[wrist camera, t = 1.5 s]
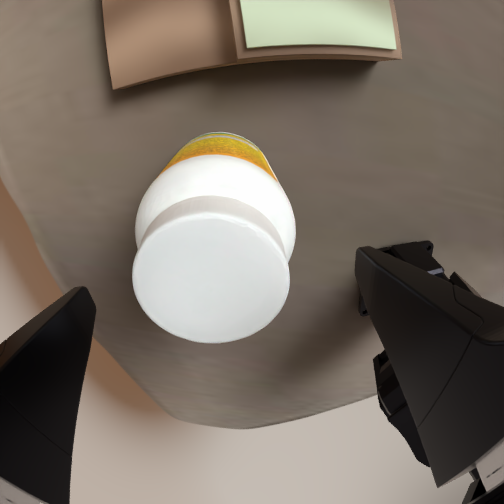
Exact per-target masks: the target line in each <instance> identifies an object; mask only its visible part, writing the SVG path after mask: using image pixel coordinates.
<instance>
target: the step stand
mask: <svg viewBox="0 0 504 504" xmlns="http://www.w3.org/2000/svg"><path fill="white" fill-rule="evenodd" d="M102 7H103V19H104V29H105V38H106V46H107V54H108V61H109V68H110V74H111V81H112V87H113V90H120V89H125V88H128V87H132V86H135V85H139V84H142V83H146V82H150V81H153V80H157V79H162V78H166V77H170V76H174V75H179V74H184V73H189V72H194V71H199V70H205V69H210V68H217V67H223V66H230V65H238V64H246V63H255V62H266V61H280V60H300V59H347V60H367V61H386V60H397V59H402V53H401V45H400V37H399V30H398V23H397V17H396V11H395V6H394V1H393V0H102Z"/></svg>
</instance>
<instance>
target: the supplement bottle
mask: <svg viewBox="0 0 504 504" xmlns="http://www.w3.org/2000/svg"><path fill="white" fill-rule="evenodd" d="M295 236H296V228H295V219H294V215H293V211H292V207H291V205H290V202H289V200H288V198H287V196H286V194H285V192H284V190H283V189H282V187H281V185H280V183H279V182H278V180H277V178H276V176H275V174H274V172H273V170H272V169H271V167H270V165H269V163H268V161H267V159H266V158H265V156H264V154H263V153H262V152H261V151H260V149H259V148H258V147H257V146H255V145H254V144H253V143H252V142H250V141H249V140H247V139H245V138H243V137H241V136H238V135H235V134H231V133H226V132H212V133H207V134H204V135H201V136H198V137H196V138H195V139H193V140H191V141H190V142H188V143H187V144H186V145H185V146H184V147H182V148H181V149H180V151H179V152H178V153H177V154H176V155H175V156H174V157H173V158H172V160H171V161H170V162H169V163H168V164H167V166H166V167H165V168H164V169H163V170H162V172H161V173H160V174H159V175H158V177H157V178H156V179H155V180H154V182H153V183H152V184H151V185H150V187H149V188H148V190H147V191H146V193H145V195H144V196H143V198H142V201H141V203H140V205H139V209H138V212H137V216H136V224H135V237H136V243H137V248H138V251H137V253H136V256H135V259H134V263H133V269H132V281H133V289H134V292H135V295H136V298H137V300H138V302H139V304H140V306H141V307H142V309H143V310H144V312H145V313H146V314H147V315H148V316H149V317H150V318H151V319H152V321H153V322H155V323H156V324H157V325H158V326H160V327H161V328H163V329H164V330H166V331H167V332H169V333H171V334H173V335H176V336H178V337H181V338H184V339H187V340H190V341H195V342H201V343H223V342H230V341H234V340H239V339H242V338H245V337H247V336H250V335H252V334H254V333H256V332H257V331H259V330H261V329H262V328H264V327H265V326H267V325H268V324H269V323H270V322H271V321H272V320H273V319H274V318H275V317H276V315H277V314H278V313H279V312H280V310H281V309H282V307H283V305H284V303H285V301H286V298H287V295H288V291H289V285H290V275H289V268H288V262H289V260H290V257H291V255H292V252H293V248H294V243H295Z"/></svg>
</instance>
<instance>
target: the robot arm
mask: <svg viewBox="0 0 504 504" xmlns="http://www.w3.org/2000/svg"><path fill="white" fill-rule="evenodd" d="M427 247H428V248H427ZM432 252H433V244H432V243H431V242H430V241H422V242H411V243H405V244H399V245H393V246H391V247H386V248H380V249H375V248H373V247H370V246H365V247H359V248H358V249H357V250H356V260H355V276H356V279H357V282H358V285H359V287H360V290H361V293H360V301H359V309H358V311H359V313H360V315H361V316H367V315H369V316H370V318H371V320H372V322H373V325H374V327H375V329H376V331H377V333H378V335H379V337H380V340H381V342H382V344H383V346H384V349H385V350H384V351H383V352H382V353H381V354H378V355H377V356H376V357H375V358H374V359H373V363H374V370H375V378H376V385H377V393H378V400H379V403H380V408H381V409H382V411H383V412H384V414H385V415H386V416H387V419H388V421H389V422H390V423H391V424H392V425H393V426H394V427H396V428H397V429H398V430H399V432H400V433H401V434H402V436H403V437H404V438H405V440H406V441H407V443H408V444H409V446H410V448H411V450H412V452H413V453H414V455H415V457H416V459H417V460H418V461H419V462H421V463H423V464H424V465H426V466H428V467H431V470H432V473H433V476H434V480H435V483H436V485H437V488H439V487H441V486H443V485H445V484H447V483H449V482H451V481H453V480H455V479H457V478H458V477H460V476H462V475H464V474H466V473H467V472H469V473H470V475H471V476H472V477H473V479H474V482H472V483H471V484H470V486H469V488H468V491H467V493H466V495H465V498H464V500H463V502H462V504H504V307H502V306H500V305H498V304H495V303H493V302H490V301H488V300H486V299H483V298H482V297H481V296H480V295H479V294H478V293H477V292H476V291H475V290H474V289H473V288H472V287H471V286H470V285H469V284H468V283H467V282H466V281H464V280H463V279H462V278H461V277H460V276H459V275H458V274H457V273H456V272H455V271H454V272H453V273H452V275H451V276H450V279H448V278H447V277H446V275H445V274H444V269H443V267H442V266H441V265H440V264H439V263H438V262H437V261H436V260H435V259H434V258H433V257H432ZM364 310H365V311H364ZM95 315H96V306H95V303H94V301H93V299H92V297H91V295H90V293H89V291H88V289H87V288H86V287H84V286H81V287H75V288H73V289H72V290H70V291H69V292H68V293H66V294H65V295H64V296H62V297H61V298H60V299H58V300H57V301H55V302H54V303H53V304H51V305H50V306H49V307H47V308H46V309H45V310H43V311H42V312H41V313H39V314H38V315H37V316H35V317H34V318H33V319H31V320H30V321H29V322H28V323H26V324H25V325H24V326H22V327H21V328H20V329H19V330H17V331H16V332H15V333H13V334H12V335H11V336H10V337H9V338H8V339H7V340H5V341H4V342H2V343H1V344H0V504H40V502H41V503H43V504H69V502H70V501H69V499H70V479H71V465H72V457H71V456H72V452H73V443H74V435H75V427H76V420H77V414H78V407H79V402H80V396H81V391H82V385H83V380H84V375H85V371H86V366H87V361H88V357H89V352H90V348H91V341H92V334H93V328H94V321H95Z"/></svg>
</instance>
